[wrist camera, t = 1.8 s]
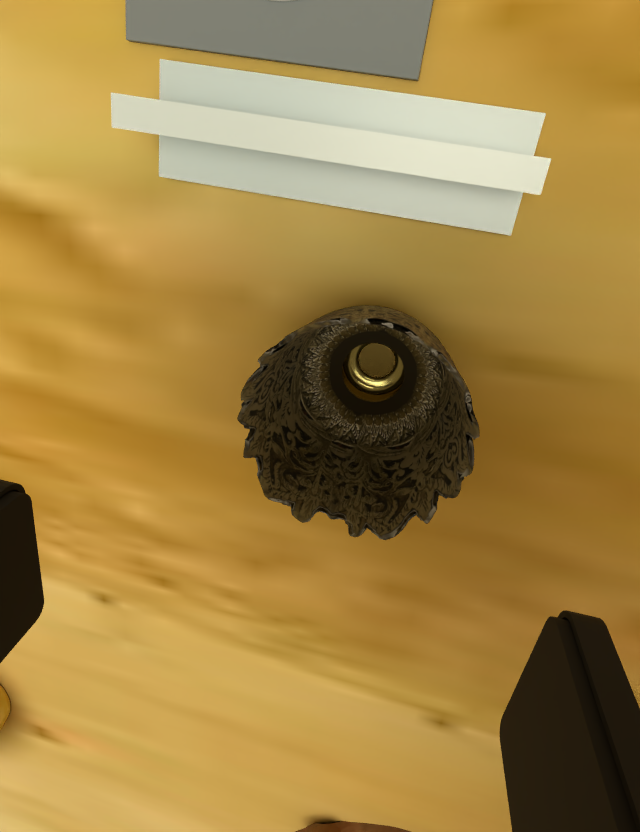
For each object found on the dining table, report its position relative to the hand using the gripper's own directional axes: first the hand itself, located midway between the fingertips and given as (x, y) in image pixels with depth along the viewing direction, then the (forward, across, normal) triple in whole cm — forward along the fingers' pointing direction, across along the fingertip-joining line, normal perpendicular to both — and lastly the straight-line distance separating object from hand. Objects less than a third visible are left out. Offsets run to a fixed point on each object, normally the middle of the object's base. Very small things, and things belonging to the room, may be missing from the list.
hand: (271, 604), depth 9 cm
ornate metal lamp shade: (+16, -1, 0) cm, 16 cm away
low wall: (+16, +2, -8) cm, 17 cm away
